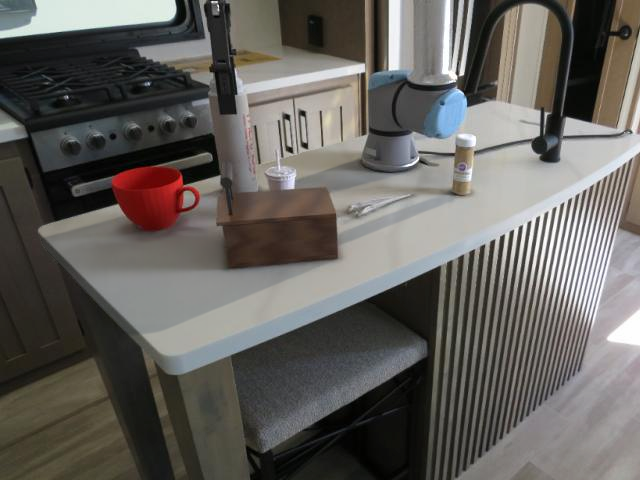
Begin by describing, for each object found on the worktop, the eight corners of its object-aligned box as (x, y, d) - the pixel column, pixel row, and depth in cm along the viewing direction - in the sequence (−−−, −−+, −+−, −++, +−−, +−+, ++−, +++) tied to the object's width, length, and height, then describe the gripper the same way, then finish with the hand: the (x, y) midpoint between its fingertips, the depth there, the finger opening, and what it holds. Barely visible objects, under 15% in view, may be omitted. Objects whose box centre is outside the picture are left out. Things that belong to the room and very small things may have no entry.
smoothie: (288, 205, 125) (282, 143, 118) (305, 214, 122) (300, 151, 114) (263, 213, 122) (256, 149, 114) (280, 223, 118) (274, 157, 110)
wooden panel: (216, 226, 97) (209, 183, 92) (218, 197, 107) (212, 157, 103) (336, 217, 101) (335, 175, 97) (327, 190, 111) (325, 151, 107)
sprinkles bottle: (452, 195, 133) (457, 138, 125) (450, 188, 136) (454, 132, 129) (471, 195, 133) (477, 139, 125) (469, 188, 137) (474, 133, 129)
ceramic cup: (189, 243, 109) (179, 195, 104) (109, 234, 111) (96, 186, 106) (218, 216, 120) (211, 171, 114) (145, 208, 122) (134, 163, 117)
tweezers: (359, 218, 121) (359, 209, 120) (345, 211, 124) (345, 203, 123) (417, 203, 131) (418, 195, 130) (404, 197, 134) (404, 189, 133)
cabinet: (229, 268, 101) (222, 226, 97) (229, 237, 112) (223, 197, 107) (338, 258, 106) (336, 217, 101) (328, 229, 116) (327, 190, 111)
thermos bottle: (263, 186, 134) (249, 61, 119) (249, 199, 128) (232, 68, 113) (232, 183, 136) (214, 58, 120) (217, 195, 129) (196, 65, 114)
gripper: (191, -43, 96) (210, 88, 107) (178, -37, 75) (202, 124, 87) (237, -41, 97) (250, 87, 109) (236, -35, 77) (252, 122, 88)
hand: (229, 104), depth 98 cm, fingers open, 13 cm apart
